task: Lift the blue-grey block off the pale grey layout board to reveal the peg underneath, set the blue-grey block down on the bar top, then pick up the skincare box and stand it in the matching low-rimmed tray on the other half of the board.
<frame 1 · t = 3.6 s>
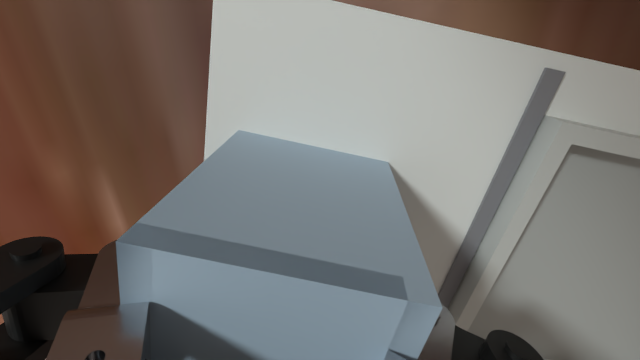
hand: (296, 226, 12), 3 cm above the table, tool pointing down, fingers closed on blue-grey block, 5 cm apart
blue-grey block: (300, 210, 13), point 1 cm above the table, touching gripper, layout board
layout board: (456, 226, 14), on the table
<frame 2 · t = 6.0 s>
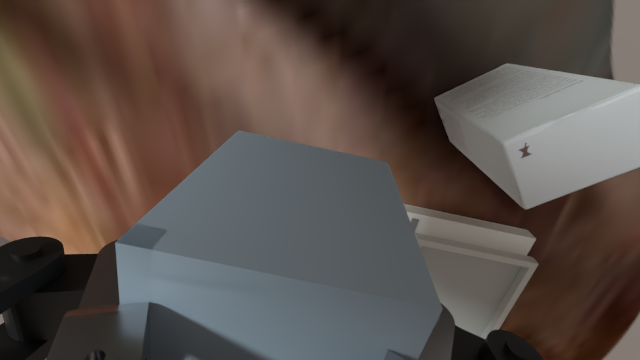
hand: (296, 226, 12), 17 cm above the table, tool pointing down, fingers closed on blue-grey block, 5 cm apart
blue-grey block: (300, 211, 13), point 16 cm above the table, touching gripper
skincare box: (476, 103, 26), on the table
layout board: (390, 268, 33), on the table
when the fingers open (3 cm above the table, at t = 8.5 s): blue-grey block drops 2 cm, on the table.
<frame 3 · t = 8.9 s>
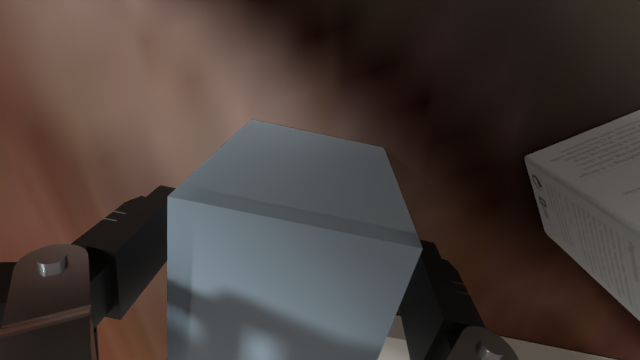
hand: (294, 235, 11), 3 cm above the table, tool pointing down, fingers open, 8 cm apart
blue-grey block: (305, 192, 14), on the table
skincare box: (604, 165, 13), on the table
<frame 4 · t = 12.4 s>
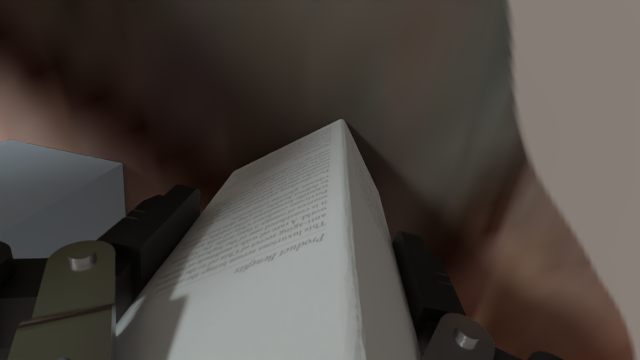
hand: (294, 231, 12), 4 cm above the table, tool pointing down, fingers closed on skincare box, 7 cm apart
blue-grey block: (72, 200, 17), on the table
skincare box: (308, 178, 16), on the table, touching gripper
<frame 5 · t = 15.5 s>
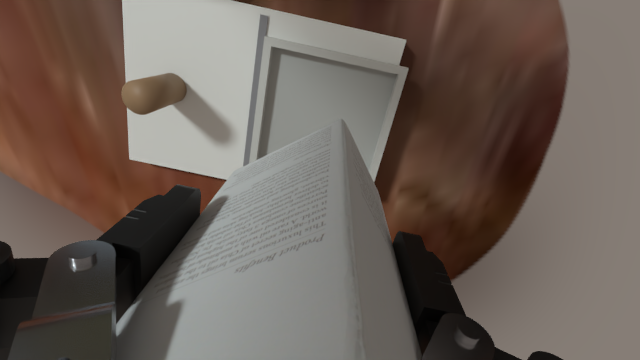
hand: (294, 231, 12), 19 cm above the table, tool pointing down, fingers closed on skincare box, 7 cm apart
skincare box: (308, 178, 16), point 14 cm above the table, touching gripper
layout board: (258, 102, 29), on the table
when the fingers open (7 cm above the table, at t = 18.7 s): skincare box stays where it is, resting on layout board.
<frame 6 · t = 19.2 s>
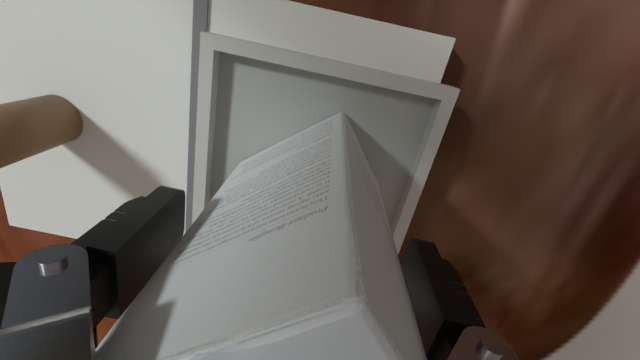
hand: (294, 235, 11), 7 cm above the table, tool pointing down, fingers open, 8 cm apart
skincare box: (310, 169, 17), point 1 cm above the table, touching layout board
layout board: (206, 138, 18), on the table
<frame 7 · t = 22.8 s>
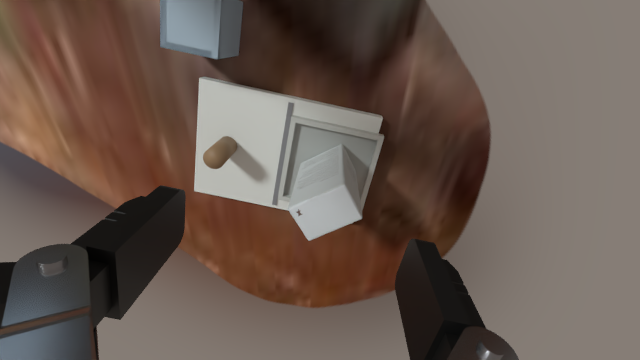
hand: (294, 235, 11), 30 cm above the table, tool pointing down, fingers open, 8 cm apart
blue-grey block: (216, 24, 36), on the table
skincare box: (329, 166, 41), point 1 cm above the table, touching layout board
layout board: (284, 153, 42), on the table
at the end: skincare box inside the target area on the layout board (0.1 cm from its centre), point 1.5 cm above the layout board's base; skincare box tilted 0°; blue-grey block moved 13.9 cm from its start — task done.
